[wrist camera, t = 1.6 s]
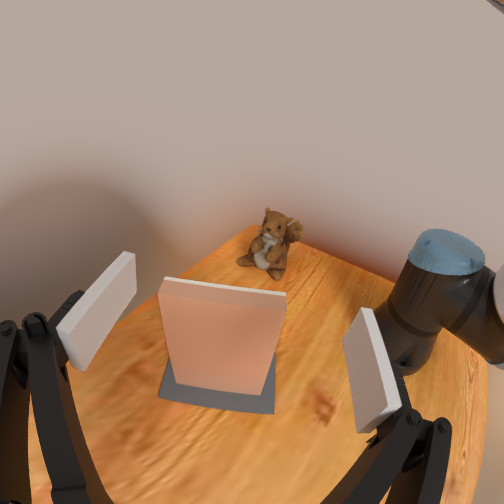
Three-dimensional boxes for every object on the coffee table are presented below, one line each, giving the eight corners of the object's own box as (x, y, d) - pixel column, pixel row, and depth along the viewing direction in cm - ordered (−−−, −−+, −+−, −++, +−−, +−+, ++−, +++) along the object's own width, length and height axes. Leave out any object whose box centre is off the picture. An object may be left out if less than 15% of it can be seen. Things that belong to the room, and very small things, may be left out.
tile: (260, 395, 34) (286, 311, 24) (176, 383, 34) (157, 293, 24) (261, 380, 36) (285, 292, 26) (179, 369, 36) (165, 276, 26)
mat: (273, 414, 32) (273, 413, 32) (158, 397, 32) (158, 396, 32) (275, 297, 52) (275, 295, 52) (193, 286, 52) (193, 285, 52)
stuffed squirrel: (233, 266, 59) (239, 211, 51) (267, 240, 69) (275, 192, 62) (273, 286, 55) (285, 230, 47) (302, 256, 65) (315, 207, 57)
